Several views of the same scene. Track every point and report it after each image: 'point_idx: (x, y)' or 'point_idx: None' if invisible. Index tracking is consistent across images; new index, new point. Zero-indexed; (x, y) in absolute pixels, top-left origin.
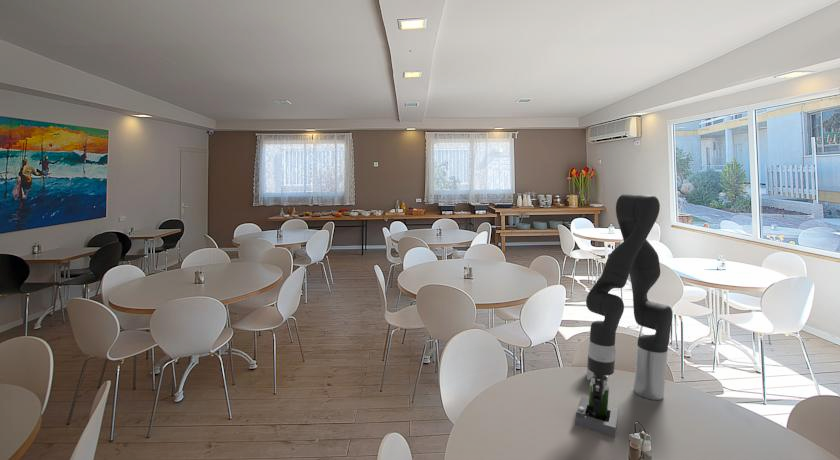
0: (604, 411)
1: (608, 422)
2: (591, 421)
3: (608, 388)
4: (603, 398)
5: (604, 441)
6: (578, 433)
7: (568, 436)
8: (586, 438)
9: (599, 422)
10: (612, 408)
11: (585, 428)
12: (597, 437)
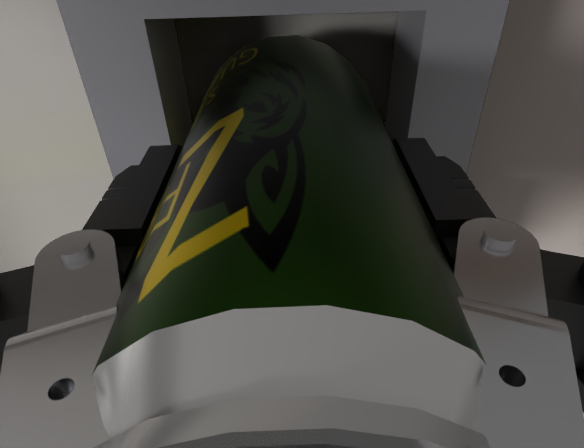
0: (363, 100)
1: (432, 13)
2: (465, 167)
3: (326, 323)
4: (428, 230)
5: (577, 4)
6: (512, 196)
7: (566, 238)
8: (564, 141)
9: (471, 103)
10: (73, 5)
11: None
12: (528, 69)
